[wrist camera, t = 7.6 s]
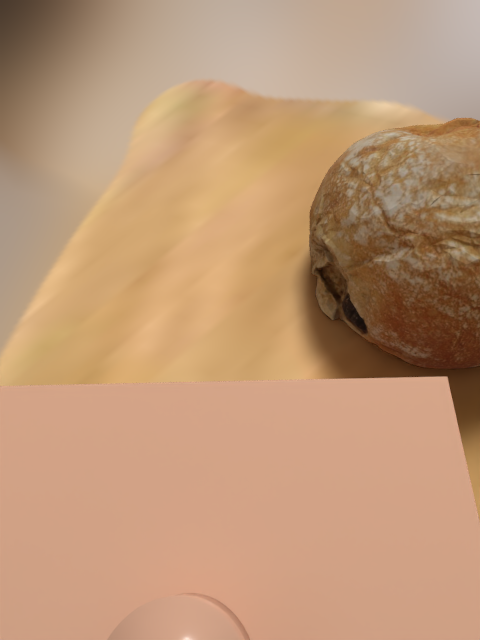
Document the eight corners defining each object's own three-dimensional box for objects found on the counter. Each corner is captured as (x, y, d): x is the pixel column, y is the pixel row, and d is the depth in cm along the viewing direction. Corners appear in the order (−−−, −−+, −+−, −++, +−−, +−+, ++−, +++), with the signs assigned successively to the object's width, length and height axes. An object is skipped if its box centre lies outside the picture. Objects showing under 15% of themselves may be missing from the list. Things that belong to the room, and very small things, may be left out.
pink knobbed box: (395, 788, 11) (784, 1617, 2) (113, 769, 11) (-404, 1354, 3) (361, 483, 14) (466, 352, 6) (146, 482, 15) (-50, 366, 6)
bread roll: (291, 281, 24) (223, 227, 17) (428, 124, 22) (418, -11, 15) (447, 419, 19) (445, 423, 12) (631, 236, 18) (749, 120, 11)
